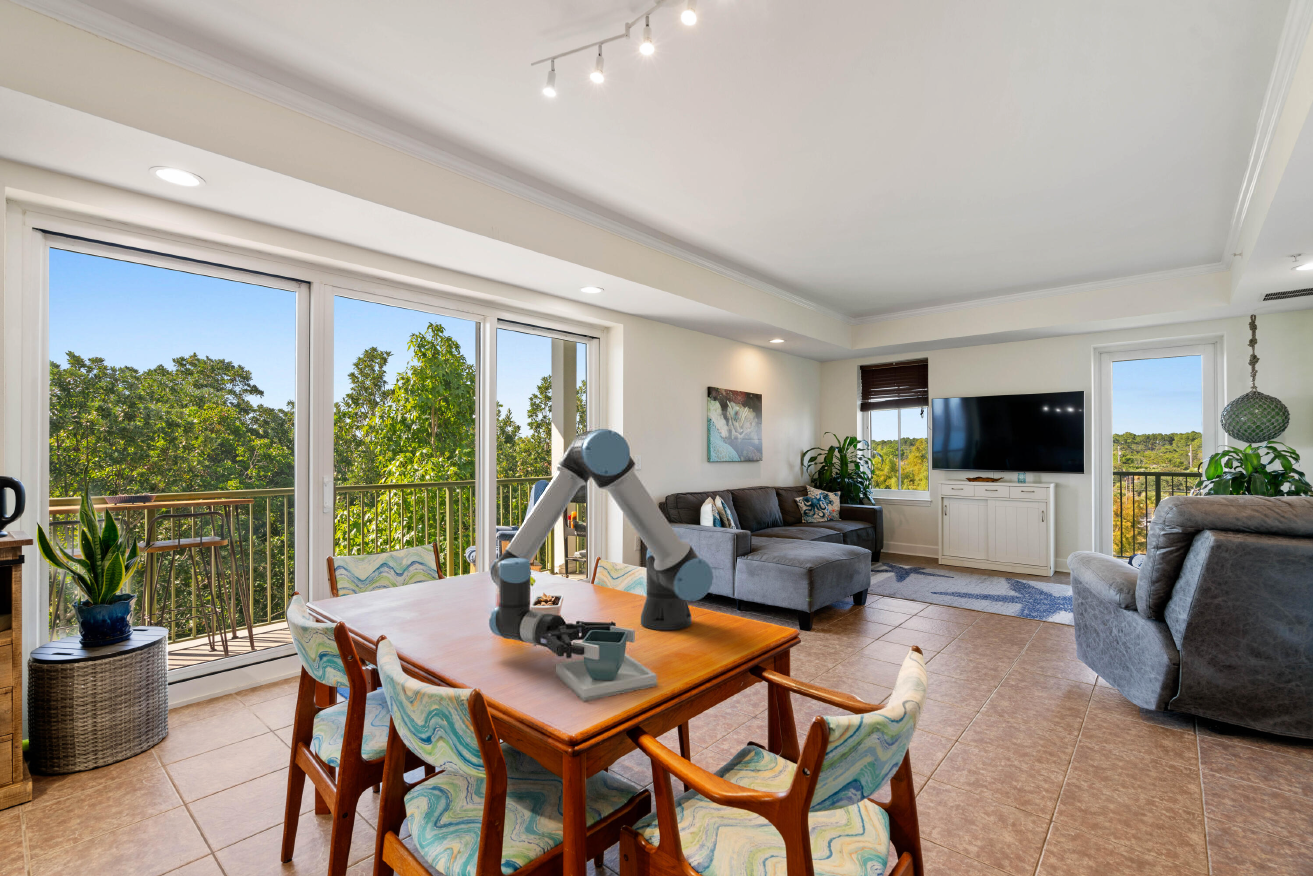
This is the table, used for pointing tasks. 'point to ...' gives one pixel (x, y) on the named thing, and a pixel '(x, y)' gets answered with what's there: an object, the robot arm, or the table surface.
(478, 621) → the table surface
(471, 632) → the table surface
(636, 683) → the tray
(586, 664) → the flower pot
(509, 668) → the table surface
